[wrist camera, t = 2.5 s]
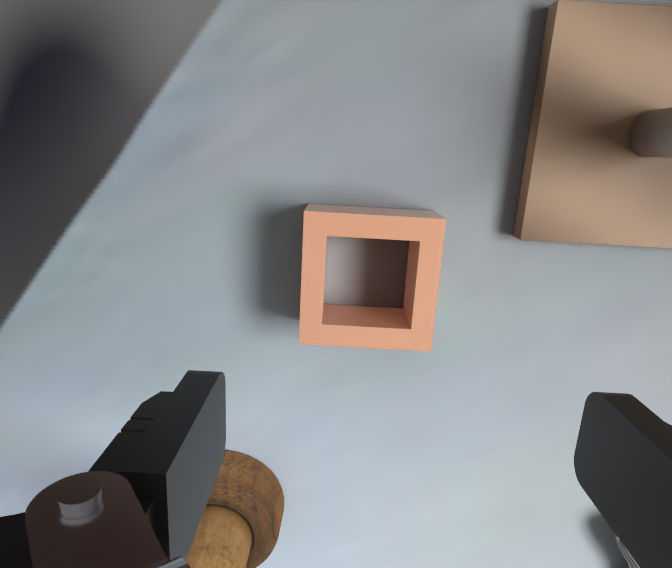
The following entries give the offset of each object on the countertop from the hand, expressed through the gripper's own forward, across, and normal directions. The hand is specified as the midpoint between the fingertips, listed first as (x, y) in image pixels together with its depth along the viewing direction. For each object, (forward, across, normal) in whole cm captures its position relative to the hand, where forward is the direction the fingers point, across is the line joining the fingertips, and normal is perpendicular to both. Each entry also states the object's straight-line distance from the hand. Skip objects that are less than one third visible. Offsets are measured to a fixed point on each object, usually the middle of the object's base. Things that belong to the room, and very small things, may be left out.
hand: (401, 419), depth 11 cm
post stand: (+14, -12, -7) cm, 20 cm away
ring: (+14, 0, 0) cm, 14 cm away
